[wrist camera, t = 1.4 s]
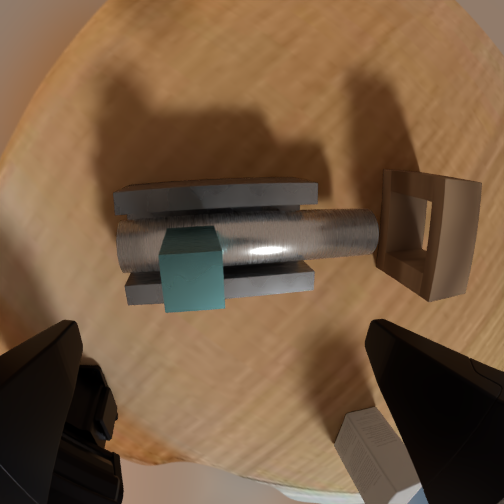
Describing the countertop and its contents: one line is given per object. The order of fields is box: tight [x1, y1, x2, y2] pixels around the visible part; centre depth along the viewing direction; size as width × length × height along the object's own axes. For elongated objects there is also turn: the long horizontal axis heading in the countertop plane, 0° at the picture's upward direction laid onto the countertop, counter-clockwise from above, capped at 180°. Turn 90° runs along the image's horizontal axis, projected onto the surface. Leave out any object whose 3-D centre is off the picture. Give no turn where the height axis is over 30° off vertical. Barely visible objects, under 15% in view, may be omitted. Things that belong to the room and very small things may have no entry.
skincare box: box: [334, 407, 422, 504], centre depth 25 cm, size 6×4×12 cm
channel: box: [113, 177, 318, 305], centre depth 19 cm, size 11×6×4 cm, turn 90°
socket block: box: [376, 169, 482, 302], centre depth 20 cm, size 4×8×7 cm, turn 0°
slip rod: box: [116, 209, 379, 313], centre depth 16 cm, size 15×3×8 cm, turn 90°
